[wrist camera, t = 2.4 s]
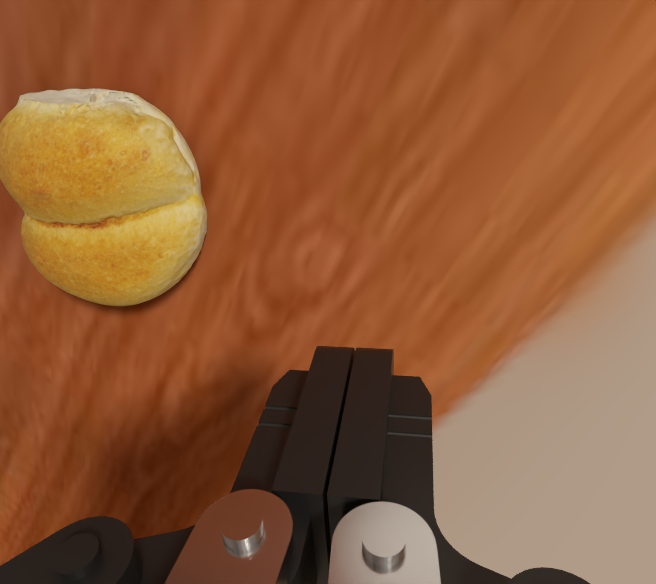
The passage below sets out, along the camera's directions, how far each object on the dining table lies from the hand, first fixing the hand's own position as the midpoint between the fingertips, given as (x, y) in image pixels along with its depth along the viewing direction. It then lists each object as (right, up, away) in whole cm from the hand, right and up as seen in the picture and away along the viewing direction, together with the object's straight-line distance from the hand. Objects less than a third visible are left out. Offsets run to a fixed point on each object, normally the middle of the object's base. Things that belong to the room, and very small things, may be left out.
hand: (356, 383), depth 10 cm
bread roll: (-10, +6, +12) cm, 17 cm away
